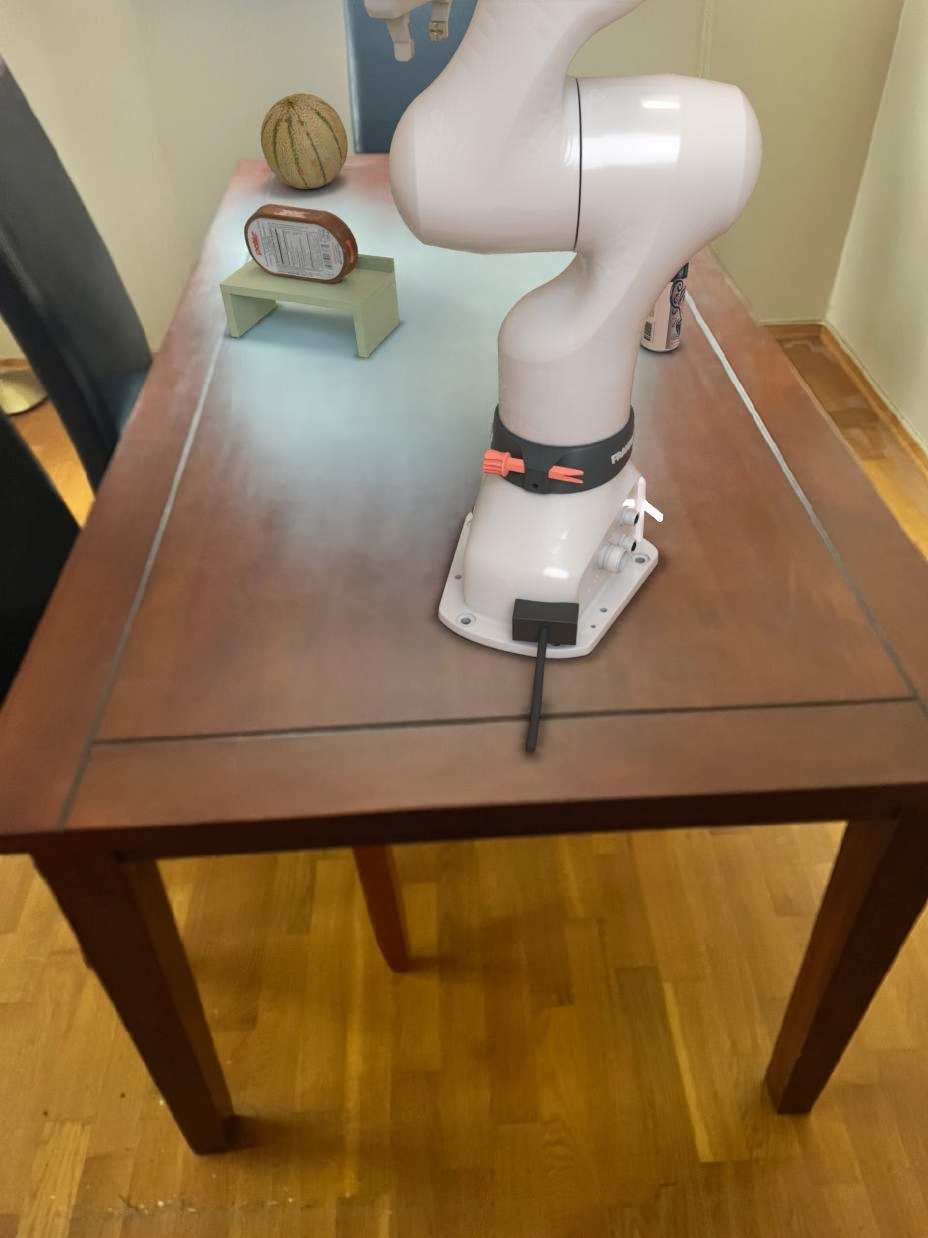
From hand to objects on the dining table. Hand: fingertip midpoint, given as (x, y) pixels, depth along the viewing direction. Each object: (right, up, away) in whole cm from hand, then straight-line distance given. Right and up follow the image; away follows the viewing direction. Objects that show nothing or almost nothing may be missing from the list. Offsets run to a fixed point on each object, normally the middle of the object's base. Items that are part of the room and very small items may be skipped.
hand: (422, 49), depth 104 cm
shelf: (-15, -25, +19) cm, 35 cm away
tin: (-16, -20, +14) cm, 30 cm away
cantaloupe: (-23, +13, +61) cm, 66 cm away
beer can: (+29, -30, +12) cm, 43 cm away
